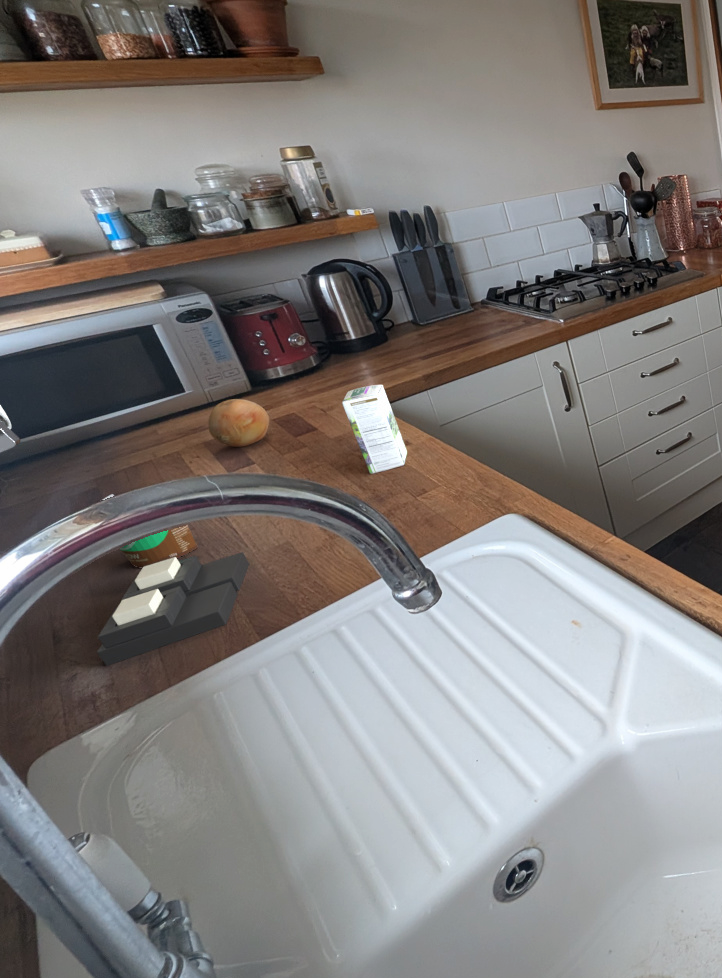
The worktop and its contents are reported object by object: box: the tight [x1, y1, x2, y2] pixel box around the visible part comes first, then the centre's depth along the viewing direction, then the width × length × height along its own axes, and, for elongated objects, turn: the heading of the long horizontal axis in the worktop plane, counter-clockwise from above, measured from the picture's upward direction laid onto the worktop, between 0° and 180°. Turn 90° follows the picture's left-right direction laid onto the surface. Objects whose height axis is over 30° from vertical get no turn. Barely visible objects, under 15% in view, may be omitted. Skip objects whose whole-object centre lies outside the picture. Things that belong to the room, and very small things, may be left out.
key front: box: [112, 589, 164, 626], centre depth 84 cm, size 4×4×2 cm
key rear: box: [134, 557, 182, 590], centre depth 91 cm, size 4×4×2 cm
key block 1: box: [121, 552, 250, 601], centre depth 92 cm, size 12×7×4 cm, turn 118°
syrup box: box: [341, 384, 408, 475], centre depth 121 cm, size 6×6×14 cm
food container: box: [101, 493, 199, 567], centre depth 100 cm, size 12×6×10 cm, turn 80°
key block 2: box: [96, 582, 239, 667], centre depth 86 cm, size 12×7×4 cm, turn 118°
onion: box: [208, 398, 270, 448], centre depth 139 cm, size 10×10×10 cm
